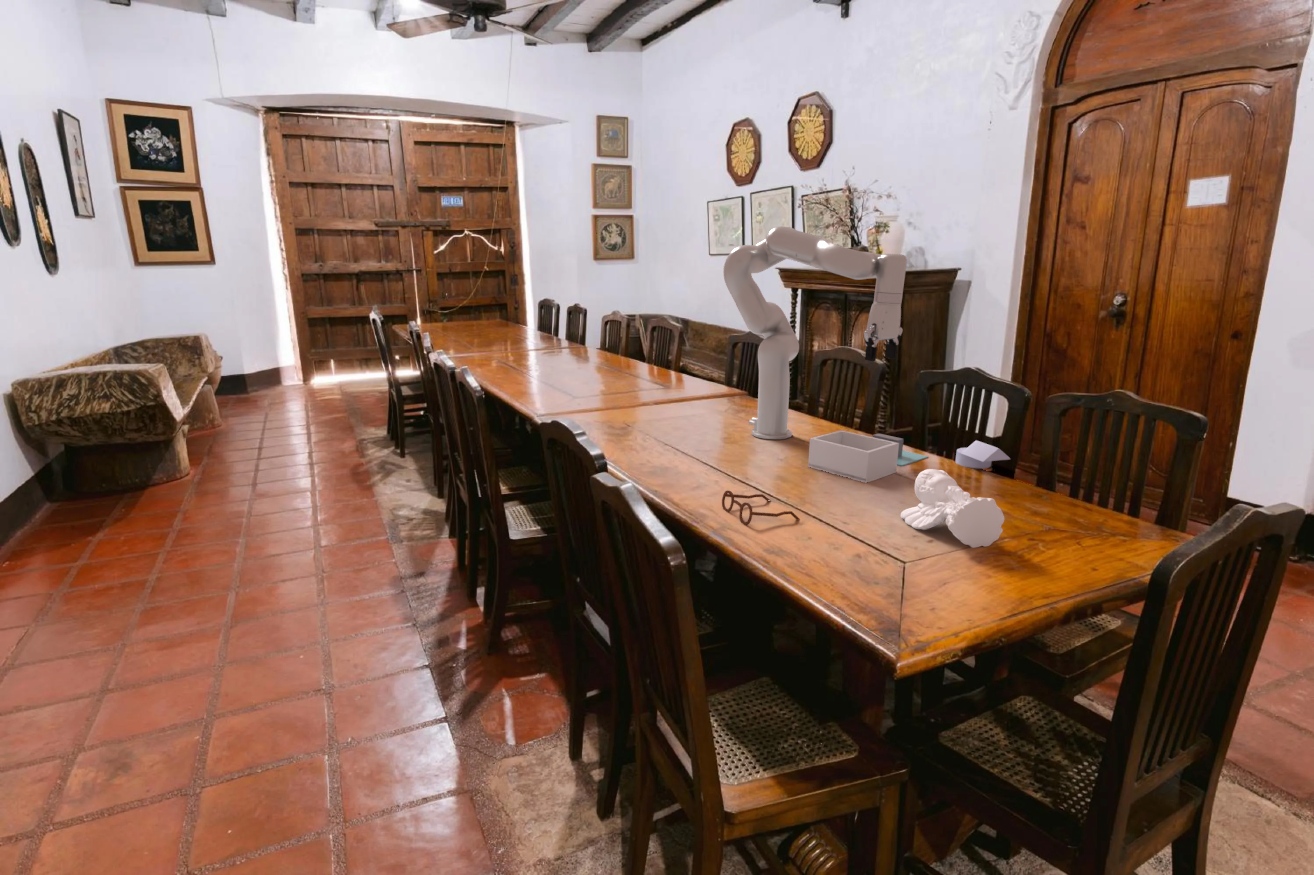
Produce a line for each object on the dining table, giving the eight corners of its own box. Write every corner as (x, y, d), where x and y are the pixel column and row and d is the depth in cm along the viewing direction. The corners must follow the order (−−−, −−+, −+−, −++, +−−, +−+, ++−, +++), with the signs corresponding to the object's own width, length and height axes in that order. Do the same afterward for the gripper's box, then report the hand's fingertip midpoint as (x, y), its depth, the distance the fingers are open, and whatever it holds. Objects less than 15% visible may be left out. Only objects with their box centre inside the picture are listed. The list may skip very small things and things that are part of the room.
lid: (845, 454, 206) (846, 434, 204) (872, 446, 214) (874, 427, 213) (900, 468, 192) (903, 447, 191) (928, 459, 201) (930, 439, 200)
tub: (808, 466, 191) (809, 438, 189) (839, 457, 200) (841, 430, 198) (865, 483, 178) (868, 452, 176) (896, 472, 187) (899, 443, 185)
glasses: (720, 509, 161) (720, 488, 160) (770, 502, 166) (771, 482, 164) (747, 529, 149) (748, 507, 148) (801, 521, 154) (802, 500, 152)
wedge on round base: (1009, 471, 189) (975, 458, 201) (1012, 447, 187) (978, 435, 199) (981, 474, 186) (948, 460, 198) (984, 449, 185) (951, 437, 197)
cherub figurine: (946, 502, 134) (898, 461, 153) (937, 559, 139) (891, 513, 157) (1010, 497, 136) (954, 457, 155) (999, 554, 141) (947, 508, 159)
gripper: (893, 297, 208) (886, 355, 212) (858, 298, 197) (851, 359, 202) (916, 299, 202) (908, 359, 207) (881, 301, 191) (873, 363, 196)
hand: (880, 359), depth 204 cm, fingers open, 9 cm apart
